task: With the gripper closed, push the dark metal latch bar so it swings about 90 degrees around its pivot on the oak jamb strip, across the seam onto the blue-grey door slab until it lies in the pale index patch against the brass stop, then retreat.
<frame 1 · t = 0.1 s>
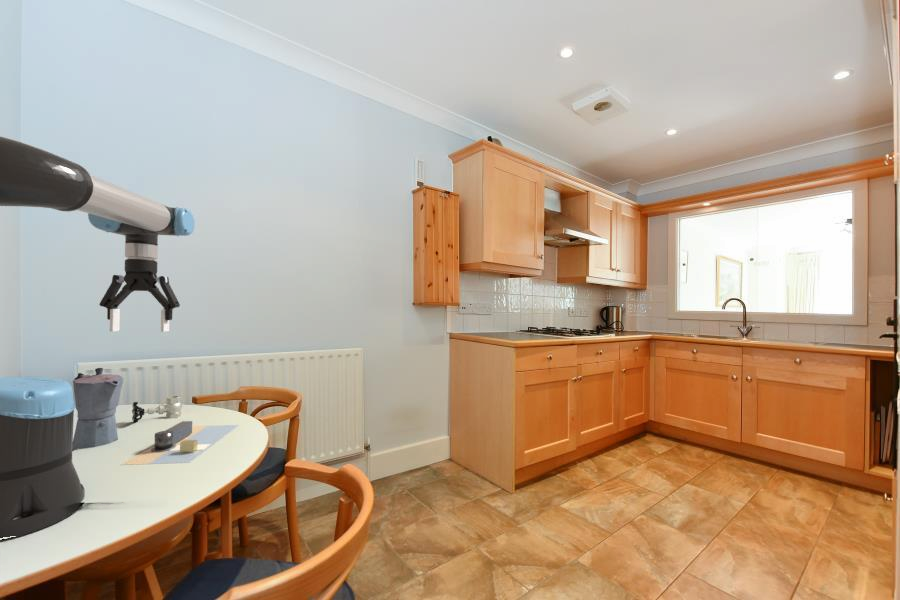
hand: (140, 331, 112), 28 cm above the table, fingers open, 13 cm apart
door panel: (188, 446, 97), on the table
moka pot: (93, 447, 96), on the table
latch bar: (174, 434, 96), point 3 cm above the table, hinge at 0.0°
valve: (157, 421, 118), on the table
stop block: (188, 451, 91), resting on door panel
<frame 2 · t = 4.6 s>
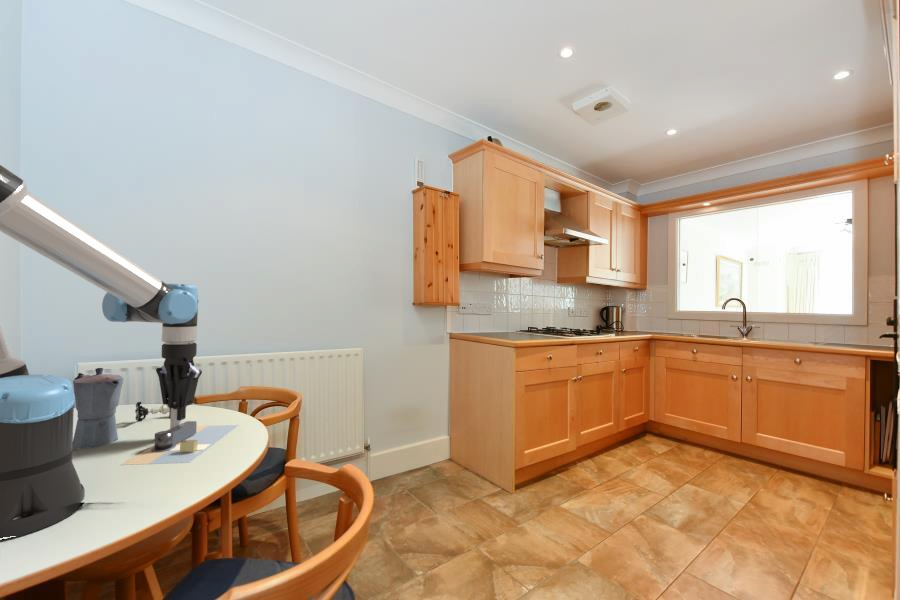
hand: (177, 431, 100), 3 cm above the table, fingers closed
latch bar: (176, 434, 96), point 3 cm above the table, hinge at 6.9°, touching gripper
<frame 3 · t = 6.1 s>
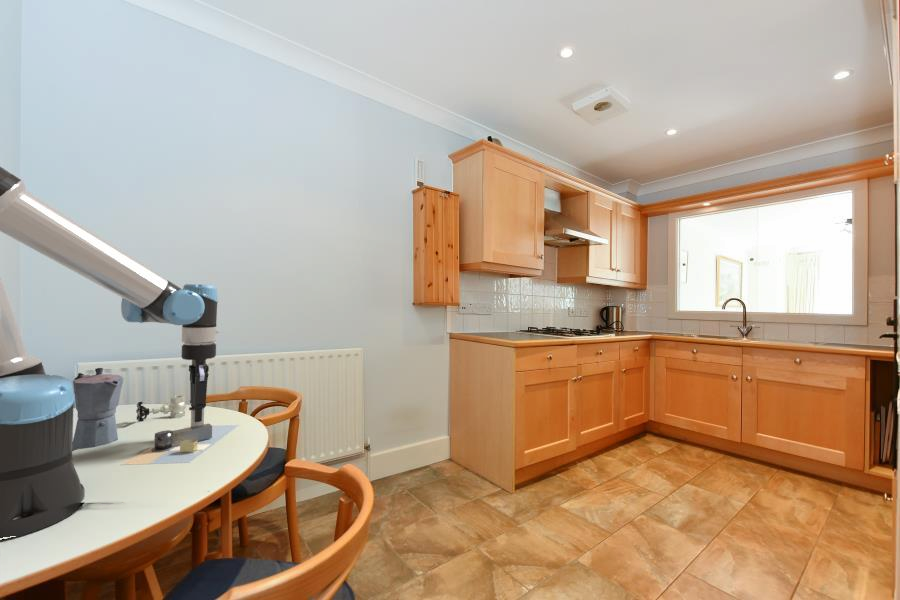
hand: (197, 432, 99), 3 cm above the table, fingers closed
latch bar: (183, 435, 95), point 3 cm above the table, hinge at 47.9°, touching gripper
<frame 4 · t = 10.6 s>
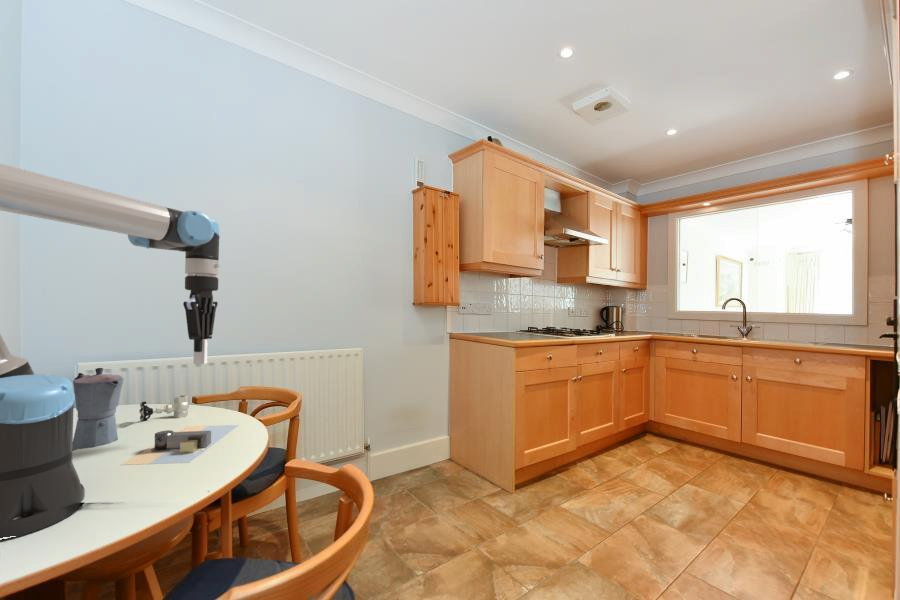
hand: (200, 363, 102), 20 cm above the table, fingers closed
latch bar: (182, 439, 93), point 3 cm above the table, hinge at 87.2°
at the end: latch bar at +87° (first picture: +0°) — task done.
